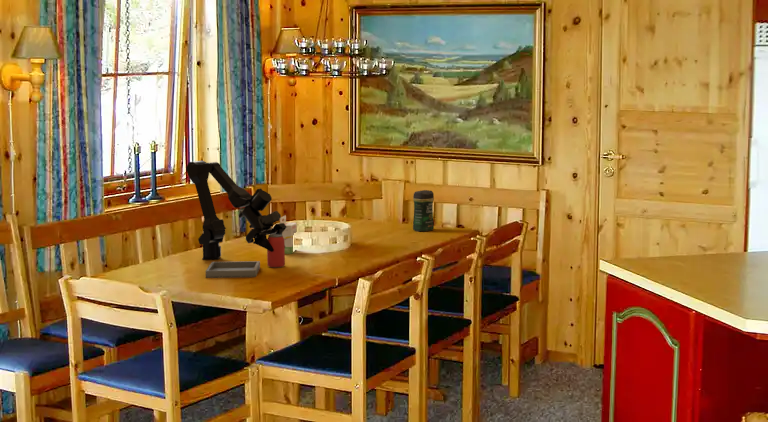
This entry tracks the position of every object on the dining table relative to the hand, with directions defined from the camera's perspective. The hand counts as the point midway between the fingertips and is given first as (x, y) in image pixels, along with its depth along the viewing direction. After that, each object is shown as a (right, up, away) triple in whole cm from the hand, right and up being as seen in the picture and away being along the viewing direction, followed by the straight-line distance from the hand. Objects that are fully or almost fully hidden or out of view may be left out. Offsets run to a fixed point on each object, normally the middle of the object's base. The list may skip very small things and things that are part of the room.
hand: (278, 249), depth 394 cm
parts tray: (-16, -8, -10) cm, 20 cm away
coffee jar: (+58, +5, +86) cm, 104 cm away
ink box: (+1, -2, +32) cm, 33 cm away
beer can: (-1, -7, +2) cm, 7 cm away
